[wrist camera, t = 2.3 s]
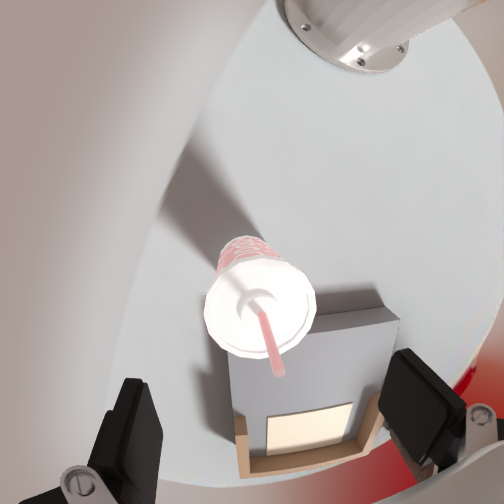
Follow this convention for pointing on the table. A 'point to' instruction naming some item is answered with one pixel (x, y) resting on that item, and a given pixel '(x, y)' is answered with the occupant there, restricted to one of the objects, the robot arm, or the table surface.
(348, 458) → the dock
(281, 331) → the beverage cup
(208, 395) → the table surface
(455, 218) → the table surface
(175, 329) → the table surface
